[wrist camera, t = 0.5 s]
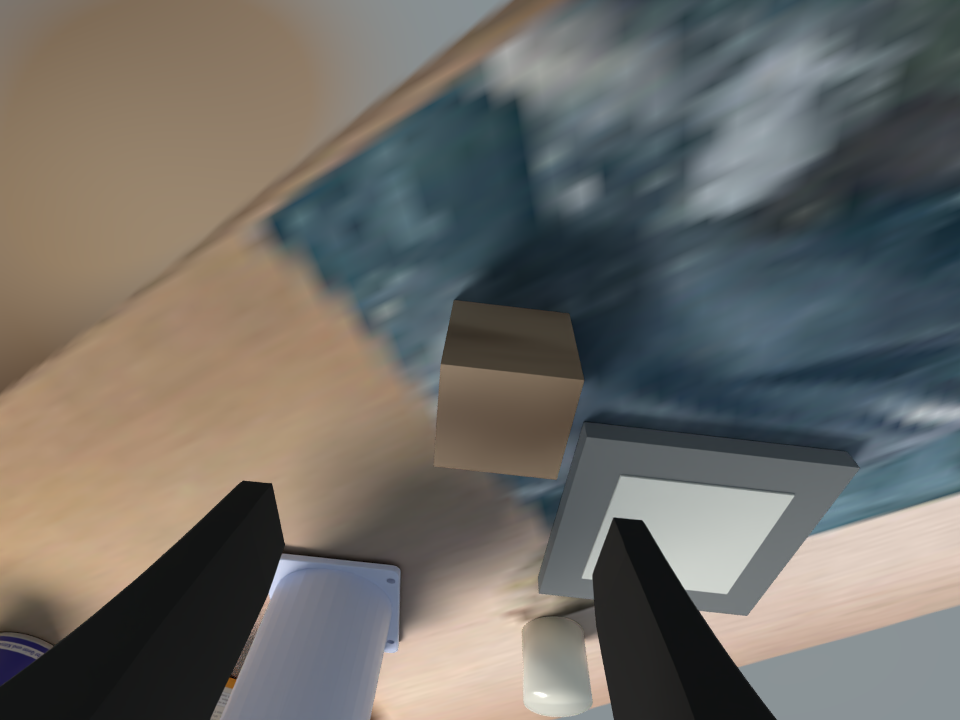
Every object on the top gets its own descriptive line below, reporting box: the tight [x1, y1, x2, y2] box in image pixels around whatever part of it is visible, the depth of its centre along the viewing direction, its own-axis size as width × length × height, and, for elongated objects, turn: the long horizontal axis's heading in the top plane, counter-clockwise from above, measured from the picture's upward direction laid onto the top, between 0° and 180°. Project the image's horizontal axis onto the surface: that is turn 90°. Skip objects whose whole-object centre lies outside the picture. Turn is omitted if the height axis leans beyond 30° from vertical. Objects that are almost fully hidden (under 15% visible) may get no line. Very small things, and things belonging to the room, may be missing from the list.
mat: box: [538, 422, 860, 616], centre depth 25 cm, size 12×12×1 cm
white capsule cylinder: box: [522, 616, 592, 717], centre depth 30 cm, size 4×4×4 cm
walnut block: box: [433, 300, 584, 480], centre depth 18 cm, size 4×4×4 cm
